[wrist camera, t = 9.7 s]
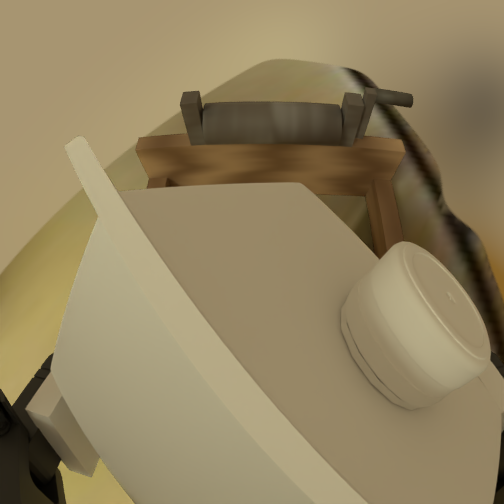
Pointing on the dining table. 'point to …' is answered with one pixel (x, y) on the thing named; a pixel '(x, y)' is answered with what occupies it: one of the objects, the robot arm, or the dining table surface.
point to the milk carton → (270, 353)
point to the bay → (286, 151)
